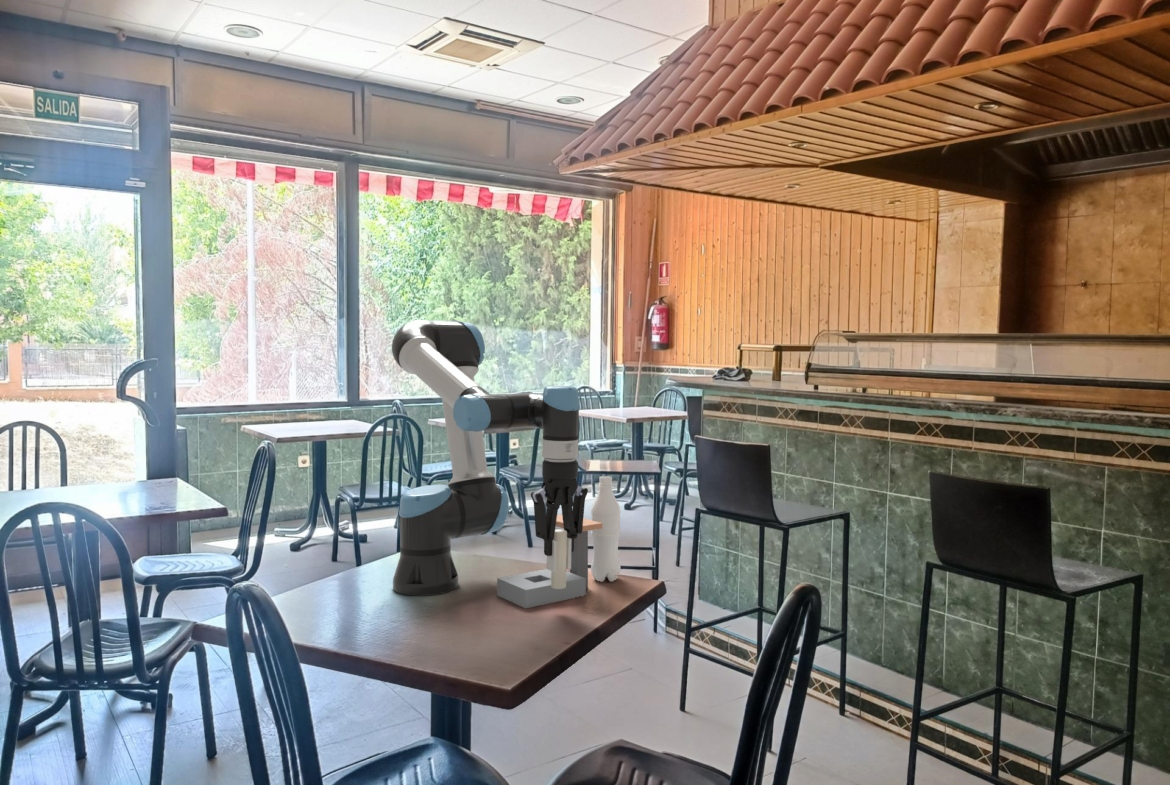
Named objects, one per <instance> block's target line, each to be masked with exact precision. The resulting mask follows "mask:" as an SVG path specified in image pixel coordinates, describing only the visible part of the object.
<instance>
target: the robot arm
mask: <svg viewBox="0 0 1170 785" xmlns="http://www.w3.org/2000/svg"><path fill="white" fill-rule="evenodd" d="M392 339H393V340H392V342H391V353H392V356H393V359H394V361H395V362H396V364H397V365H398V366H399V367H400V368H401V369H402V370H403V371H404V372H406V373H408V374H411V375H415V376H416V377H418V379H420V380H421V381H422V382H423V383H424V384H425V385H427V387H429V389H431V390H432V392H434V393H436V395H437V396H439V398H441V401H442V408H443V415H444V423H445V429H446V435H447V442H448V443H447V444H448V450H449V458H450V464H451V472H452V478H451V479H450V480H449V481H448V483H447V484H432V485H430V484H427V485H422V486H421V485H420V486H418V487H415V488H411V489H409V490H407V491H405V492H404V493H403V494H402V495H401V497H400V501H399V509H398V515H399V537H400V538H399V541H400V542H399V546H400V547H399V549H400V552H399V553H400V554H399V559H398V562H397V566H396V569H395V572H394V575H393V578H392V579H393V580H392V590H393V591H394V592H396V593H398V594H401V595H406V596H434V595H441V594H445V593H448V592H451V591H454V590H455V589H457V588H458V587H459V574H458V571H457V568H456V564H455V562H454V559H453V556H452V552H451V550H452V549H451V545H452V544H451V543H452V542H451V540H452V539H453V540H454V539H461V538H465V537H466V538H467V537H473V536H483V535H487V534H489V533H494V532H496V531H499V530H500V529H501V528H502V527H503V526H504V524H505V522H506V520H507V518H508V514H509V509H510V507H509V506H510V505H509V504H510V503H509V496H508V492H507V491H506V490H505V487H504V486H503V485H501V484H497V483H496V477H495V475H494V474H492V473H491V472H490V471H489V470H488V463H487V456H486V450H485V443H484V438H483V431H495V430H506V429H507V430H509V429H525V428H532V429H533V428H535V429H542V449H541V450H542V452H541V453H542V457H543V461H542V463H541V464H542V466H541V467H542V468H541V469H542V470H541V472H542V473H541V474H542V476H541V477H542V478H543V482H542V485H541V488H540V489H539V490H537V491H532V492H531V493H530V497H531V499H532V503H533V511H534V512H533V513H534V514H533V515H534V528H535V530H534V531H535V536H536V537H537V538H538V539H541V540H543V554H544V556H546V569H548V570H550V571H552V572H557V541H556V540H554V534H555V530H556V527H557V526H556V520H557V515H558V510H559V509H560V508H561V515H562V517H563V525H564V528H563V530H566V531H567V562H566V570H570V569H571V552H573V551H574V539H575V538H577V536H578V535H577V534H581V533H582V528H583V518H584V515H585V514H584V513H585V505H586V498H587V495H588V492H589V489H588V488H587V487H585V486H584V487H583V486H580V485H579V483H578V481H577V480H578V479H577V478H578V476H579V462H578V460H576V459H578V457H579V425H580V424H579V421H580V408H581V406H580V401H579V398H580V397H579V390H578V388H577V387H575V386H571V385H569V386H568V385H567V386H566V385H547V386H545V387H544V388H543V392H542V393H536V392H535V393H534V392H532V391H521V392H519V391H518V392H516V393H496V394H495V393H489V392H488V391H487V390H485V389H484V388H483V387H482V386H480V384H478V383H477V382H475V376H476V375H477V374H478V372H479V366H480V365H481V364H482V363H483V362H484V359H485V355H484V354H485V353H486V345H485V340H484V337H483V335H482V332H481V331H480V330H479V328H478V327H477V326H475V325H474V324H473V323H471V322H469V321H468V322H466V321H461V320H425V319H424V320H423V319H416V320H413V321H410V322H407V323H405V324H403V325H402V326H401V327H400V328H399V329H398V330H397V331H396V333H395V334H394V335H393V338H392ZM545 500H546V501H545Z"/></svg>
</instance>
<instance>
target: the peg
mask: <svg viewBox="0 0 1170 785" xmlns="http://www.w3.org/2000/svg"><path fill="white" fill-rule="evenodd" d="M554 540H556V541H557V572H552V571H551V588H554V589H564V588H566V571H567V569H566V562H567V531H566V530H564V529H563V528H561V529H560V528H559V529H555V534H554Z"/></svg>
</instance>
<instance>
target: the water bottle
mask: <svg viewBox="0 0 1170 785" xmlns="http://www.w3.org/2000/svg"><path fill="white" fill-rule="evenodd" d="M612 479H613V478H612V476H607V475H604V476H599V479H598V480H599V483H598V486H597V487H598V493H597V495H596V497H595V499H594V501H593V503H592V506H591V507H590V508H591V509H590V513H591V514H590V515H591V518H590V520H592V521H596V522H600V523H602V528H601V529H595V530H590V533H591V538H592V544H593V552H592V561H591V565H590V569H591V570H590V571H591V575H592V577H593V579H595V580H596V581H598V582H599V581H600V582H601V583H602V582H604V581H605V580H606V578H607V579H608V581H609V582H610V583H612V582H615V581H616V580H617V579H618V578H619V576H614V575H620V574H621V563H620V559H619V558H620V557H619V540H620V539H619V538H620V535H621V508H620V504H619V503H618V501H617V500H618V499H616V497H615V494H614V492H613V487H614V485H613V481H612ZM614 580H615V581H614Z"/></svg>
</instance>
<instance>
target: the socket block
mask: <svg viewBox="0 0 1170 785" xmlns="http://www.w3.org/2000/svg"><path fill="white" fill-rule="evenodd" d="M496 583H497V584H496V585H497V586H496V588H497V591H496V592H497V593H496V594H497V596H498V597H500V598H502V599H504V600H506V601H508V602H511V603H512V604H515V605H517V606H519V607H522V608H523V609H531V608H535V607H539V606H544V605H548V604H553V603H557V602H558V603H559V602H562V601H566V600H567V601H568V600H571V598H572V599H576V598H575V597H577V598H580V597H579V596H581V597H585V596H584V595H586V592H587V591H586V589H587V588H586V578H584V577H581V576H578V575H576V574H573V573H570V571H567V570H566V588H564V589H554V588H551V571H550V570H548V569H547V568H544V569H540V570H539V569H538V570H534V571H528V572H522V573H518V574H512V575H506V576H500V577H496Z"/></svg>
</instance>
